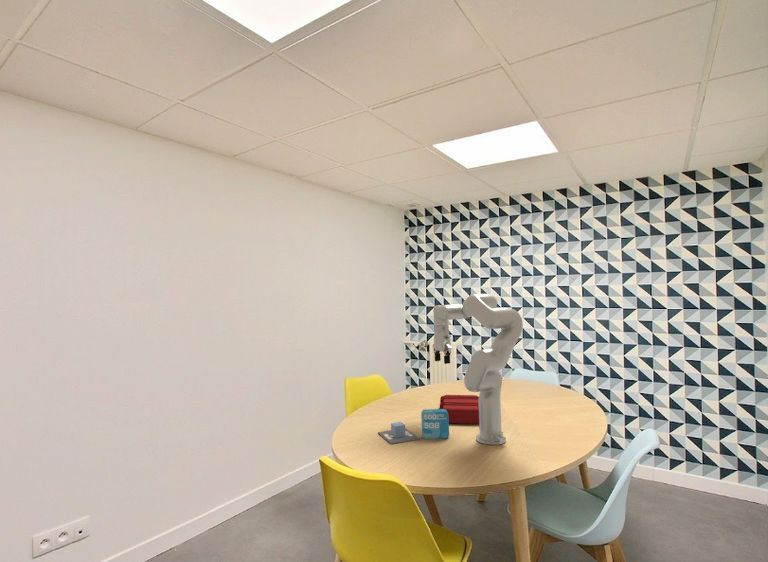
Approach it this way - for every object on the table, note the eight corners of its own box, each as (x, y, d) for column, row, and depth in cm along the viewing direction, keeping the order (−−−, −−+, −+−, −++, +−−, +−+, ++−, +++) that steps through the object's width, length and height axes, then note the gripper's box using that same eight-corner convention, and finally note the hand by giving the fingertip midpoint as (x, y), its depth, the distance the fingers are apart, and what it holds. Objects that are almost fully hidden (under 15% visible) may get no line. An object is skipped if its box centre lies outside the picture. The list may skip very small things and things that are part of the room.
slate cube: (405, 436, 179) (405, 424, 180) (395, 437, 178) (395, 426, 178) (401, 432, 184) (400, 421, 184) (391, 434, 182) (390, 423, 182)
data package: (422, 439, 177) (421, 412, 177) (421, 435, 181) (421, 409, 182) (449, 438, 176) (448, 411, 177) (447, 435, 181) (447, 408, 182)
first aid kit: (440, 408, 229) (440, 393, 230) (481, 408, 225) (481, 393, 226) (439, 424, 198) (438, 407, 198) (486, 426, 194) (486, 408, 194)
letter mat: (419, 439, 176) (419, 438, 176) (390, 444, 171) (390, 443, 171) (404, 429, 191) (404, 428, 191) (378, 433, 186) (377, 432, 186)
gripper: (456, 329, 197) (457, 364, 196) (439, 327, 213) (440, 359, 212) (443, 330, 194) (444, 365, 193) (427, 328, 210) (428, 360, 209)
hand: (442, 362), depth 203 cm, fingers open, 9 cm apart
